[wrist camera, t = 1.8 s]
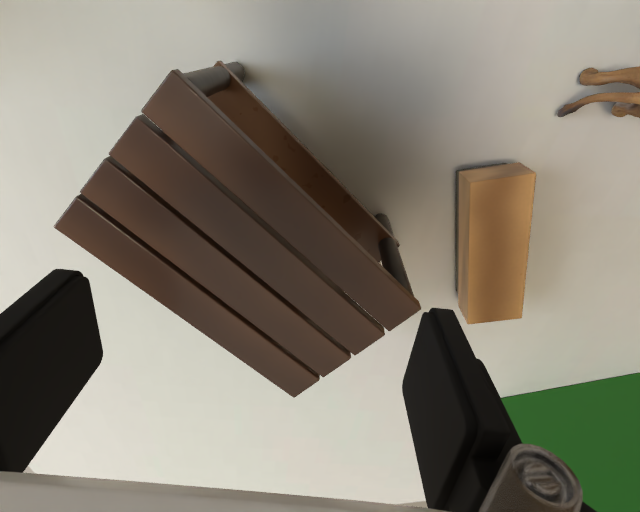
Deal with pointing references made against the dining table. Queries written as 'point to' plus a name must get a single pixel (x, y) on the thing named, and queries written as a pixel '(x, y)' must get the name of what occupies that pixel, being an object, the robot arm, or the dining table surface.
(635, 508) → the hardback book
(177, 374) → the dining table surface
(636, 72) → the lion figurine
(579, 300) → the dining table surface
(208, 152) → the rack
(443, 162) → the dining table surface
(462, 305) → the tan rectangular block
